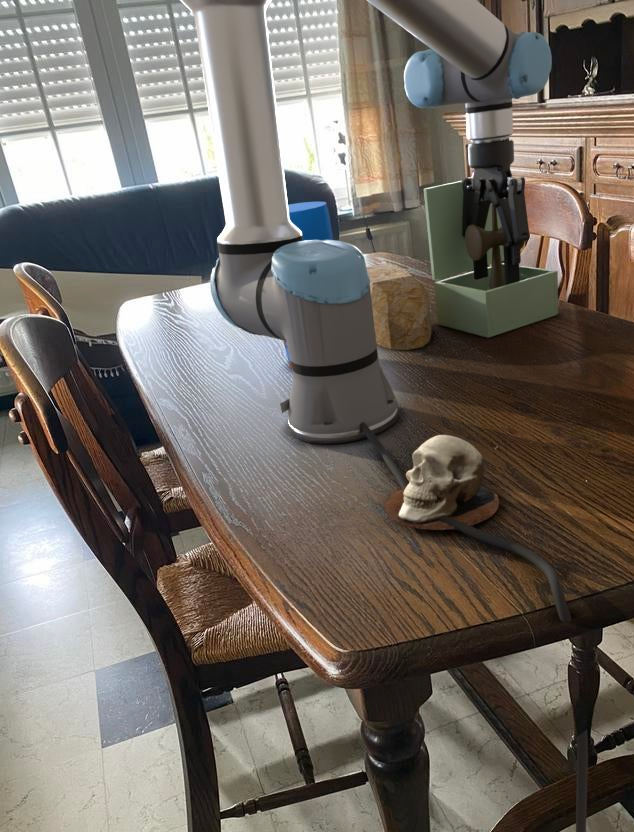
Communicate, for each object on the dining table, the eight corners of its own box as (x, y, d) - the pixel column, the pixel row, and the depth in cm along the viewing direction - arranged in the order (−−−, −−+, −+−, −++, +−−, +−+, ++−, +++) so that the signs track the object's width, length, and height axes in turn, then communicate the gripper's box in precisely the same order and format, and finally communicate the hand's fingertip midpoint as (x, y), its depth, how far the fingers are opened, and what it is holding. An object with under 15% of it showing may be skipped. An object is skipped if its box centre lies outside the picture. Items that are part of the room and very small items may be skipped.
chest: (558, 314, 136) (557, 270, 132) (488, 338, 129) (485, 292, 125) (504, 303, 147) (502, 262, 143) (437, 324, 140) (433, 282, 136)
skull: (443, 544, 71) (387, 453, 72) (402, 573, 80) (353, 491, 81) (530, 493, 76) (477, 410, 78) (483, 525, 85) (436, 450, 87)
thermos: (293, 377, 123) (263, 217, 111) (284, 359, 132) (255, 209, 120) (357, 364, 125) (334, 205, 113) (343, 347, 134) (320, 199, 122)
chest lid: (499, 173, 136) (478, 173, 140) (426, 188, 129) (406, 188, 133) (504, 260, 143) (483, 258, 148) (434, 279, 136) (415, 276, 140)
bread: (445, 341, 130) (441, 283, 125) (385, 354, 128) (378, 295, 123) (388, 300, 161) (383, 252, 156) (339, 309, 159) (332, 261, 154)
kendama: (468, 318, 138) (460, 203, 129) (513, 307, 141) (508, 193, 131) (484, 324, 134) (477, 205, 124) (530, 313, 136) (527, 195, 126)
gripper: (551, 134, 117) (552, 282, 128) (468, 138, 133) (475, 270, 144) (515, 141, 114) (520, 292, 125) (434, 144, 129) (444, 278, 140)
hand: (496, 280), depth 134 cm, fingers open, 8 cm apart
